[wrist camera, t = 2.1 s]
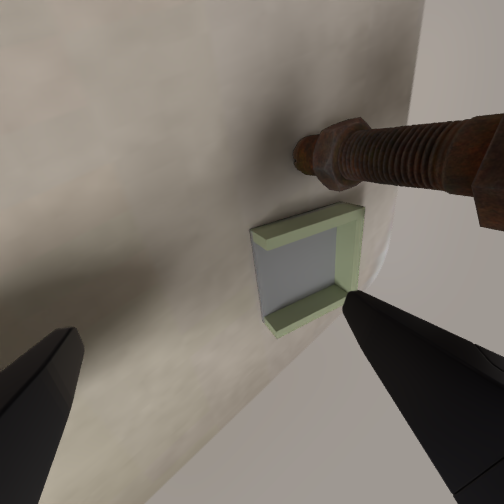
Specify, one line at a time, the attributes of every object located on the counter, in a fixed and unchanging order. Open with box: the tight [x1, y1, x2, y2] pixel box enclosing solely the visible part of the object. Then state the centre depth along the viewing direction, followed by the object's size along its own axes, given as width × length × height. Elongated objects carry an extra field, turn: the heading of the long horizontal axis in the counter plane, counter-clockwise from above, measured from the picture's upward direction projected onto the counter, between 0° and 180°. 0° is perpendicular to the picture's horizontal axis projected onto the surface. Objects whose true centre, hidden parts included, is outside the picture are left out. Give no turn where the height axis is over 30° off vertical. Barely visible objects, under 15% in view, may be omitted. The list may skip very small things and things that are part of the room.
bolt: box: [293, 113, 504, 231], centre depth 14 cm, size 6×5×15 cm
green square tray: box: [250, 202, 365, 339], centre depth 24 cm, size 11×11×3 cm
